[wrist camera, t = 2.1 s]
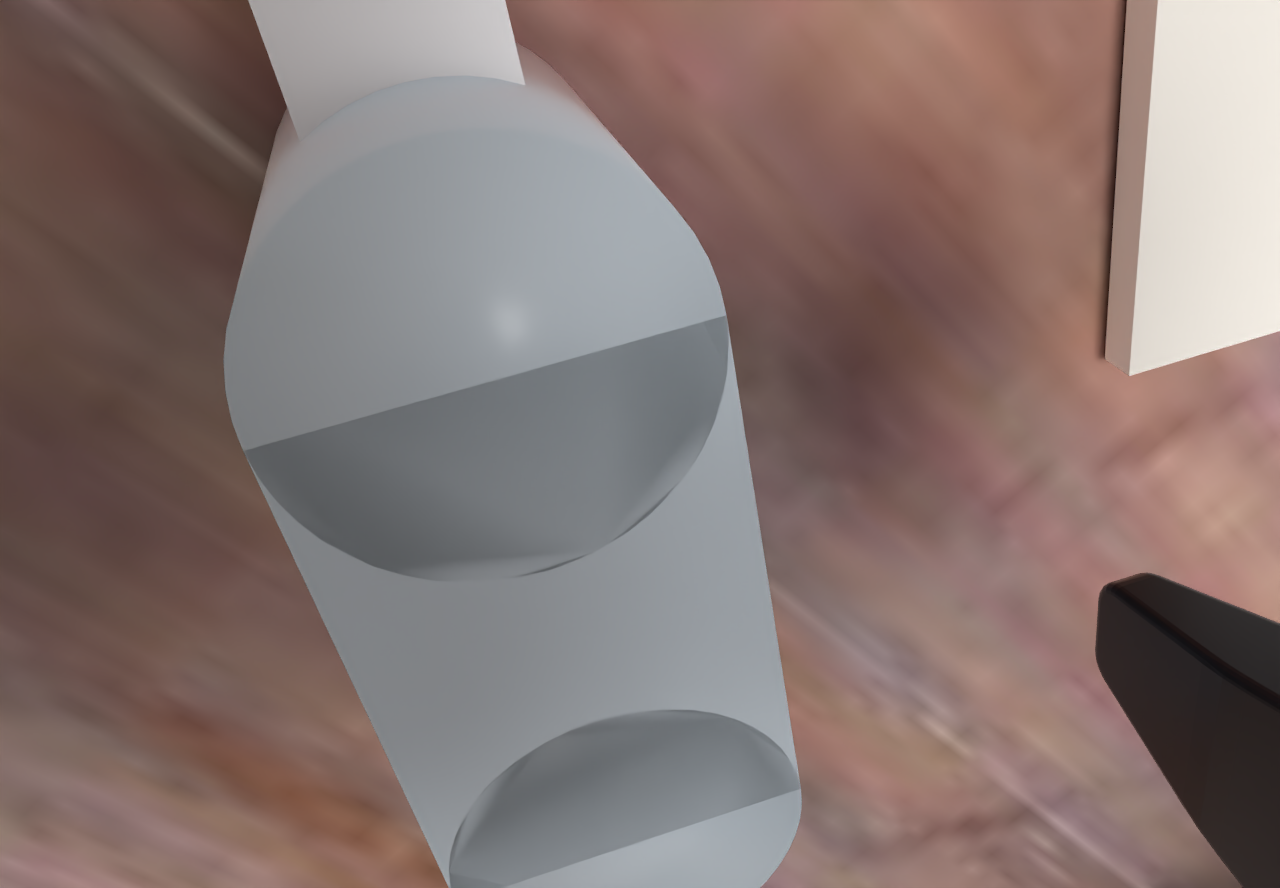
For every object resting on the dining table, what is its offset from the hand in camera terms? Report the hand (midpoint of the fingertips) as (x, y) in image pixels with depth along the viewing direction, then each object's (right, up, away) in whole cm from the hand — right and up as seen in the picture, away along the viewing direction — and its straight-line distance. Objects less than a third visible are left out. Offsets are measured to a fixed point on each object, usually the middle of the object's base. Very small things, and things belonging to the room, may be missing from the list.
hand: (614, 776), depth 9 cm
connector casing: (-2, +4, +5) cm, 7 cm away
